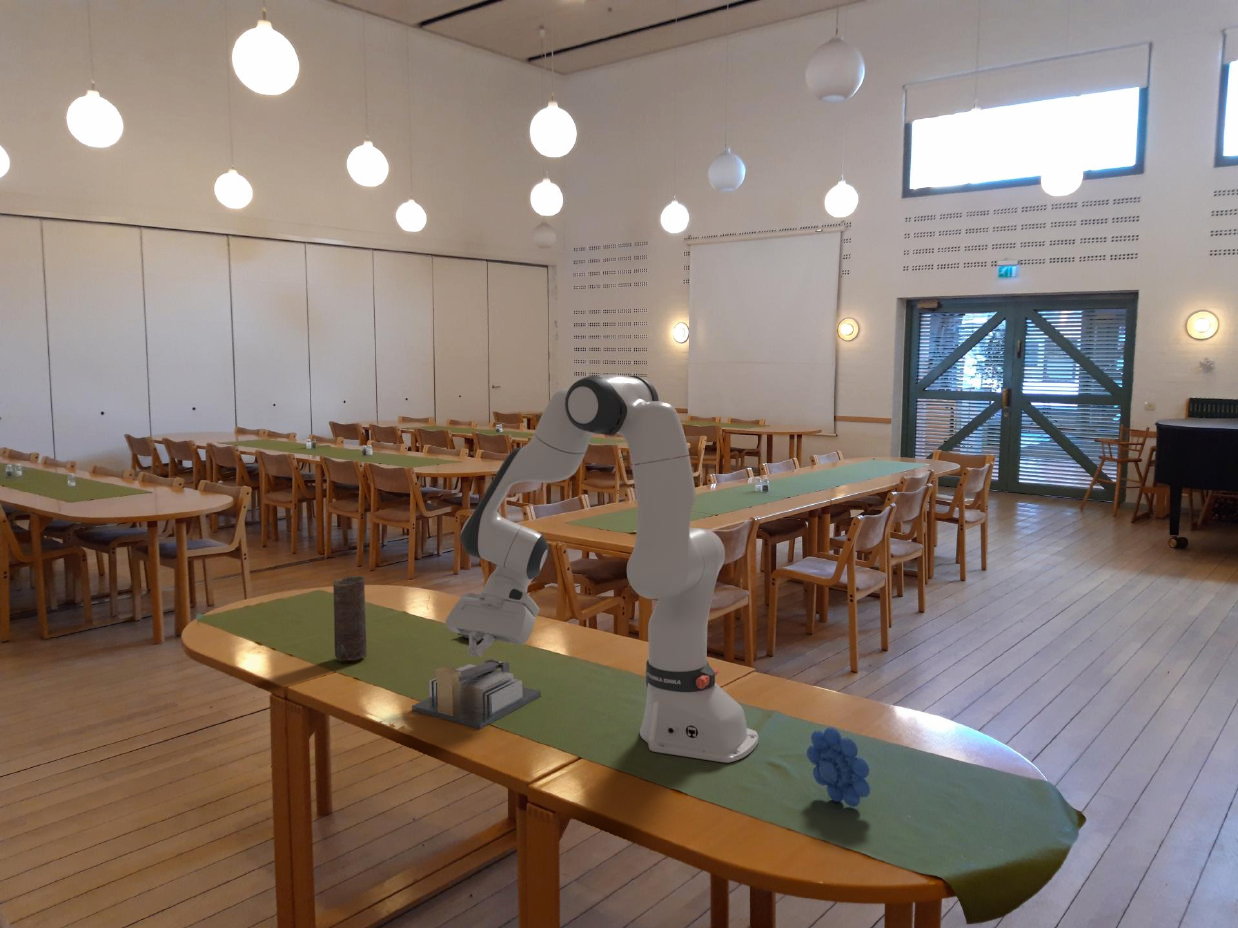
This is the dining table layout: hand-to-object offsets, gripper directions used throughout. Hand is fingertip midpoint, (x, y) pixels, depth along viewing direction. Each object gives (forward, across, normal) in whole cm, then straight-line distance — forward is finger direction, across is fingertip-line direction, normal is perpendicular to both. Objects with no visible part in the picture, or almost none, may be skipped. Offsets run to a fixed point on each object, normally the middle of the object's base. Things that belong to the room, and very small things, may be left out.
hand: (473, 654), depth 182 cm
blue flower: (+10, +77, +7) cm, 78 cm away
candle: (+2, -44, +12) cm, 46 cm away
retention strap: (+2, 0, +4) cm, 5 cm away
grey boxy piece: (+6, 0, +9) cm, 11 cm away
